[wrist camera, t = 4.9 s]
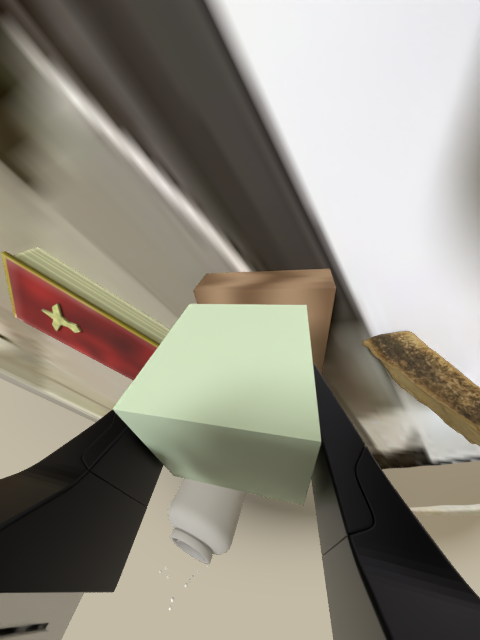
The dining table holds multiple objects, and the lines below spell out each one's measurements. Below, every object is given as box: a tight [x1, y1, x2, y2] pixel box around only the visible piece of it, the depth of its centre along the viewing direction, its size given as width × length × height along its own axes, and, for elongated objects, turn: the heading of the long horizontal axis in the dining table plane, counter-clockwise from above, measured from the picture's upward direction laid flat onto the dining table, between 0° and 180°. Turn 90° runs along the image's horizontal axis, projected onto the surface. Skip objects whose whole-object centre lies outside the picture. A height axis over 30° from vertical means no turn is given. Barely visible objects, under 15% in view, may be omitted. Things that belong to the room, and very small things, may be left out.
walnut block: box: [193, 269, 336, 375], centre depth 22 cm, size 12×12×4 cm
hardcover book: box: [1, 247, 170, 380], centre depth 28 cm, size 12×21×4 cm, turn 54°
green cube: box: [113, 304, 321, 505], centre depth 8 cm, size 5×5×5 cm
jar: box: [159, 478, 246, 611], centre depth 44 cm, size 19×15×25 cm
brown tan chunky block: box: [362, 331, 480, 446], centre depth 20 cm, size 11×9×10 cm
